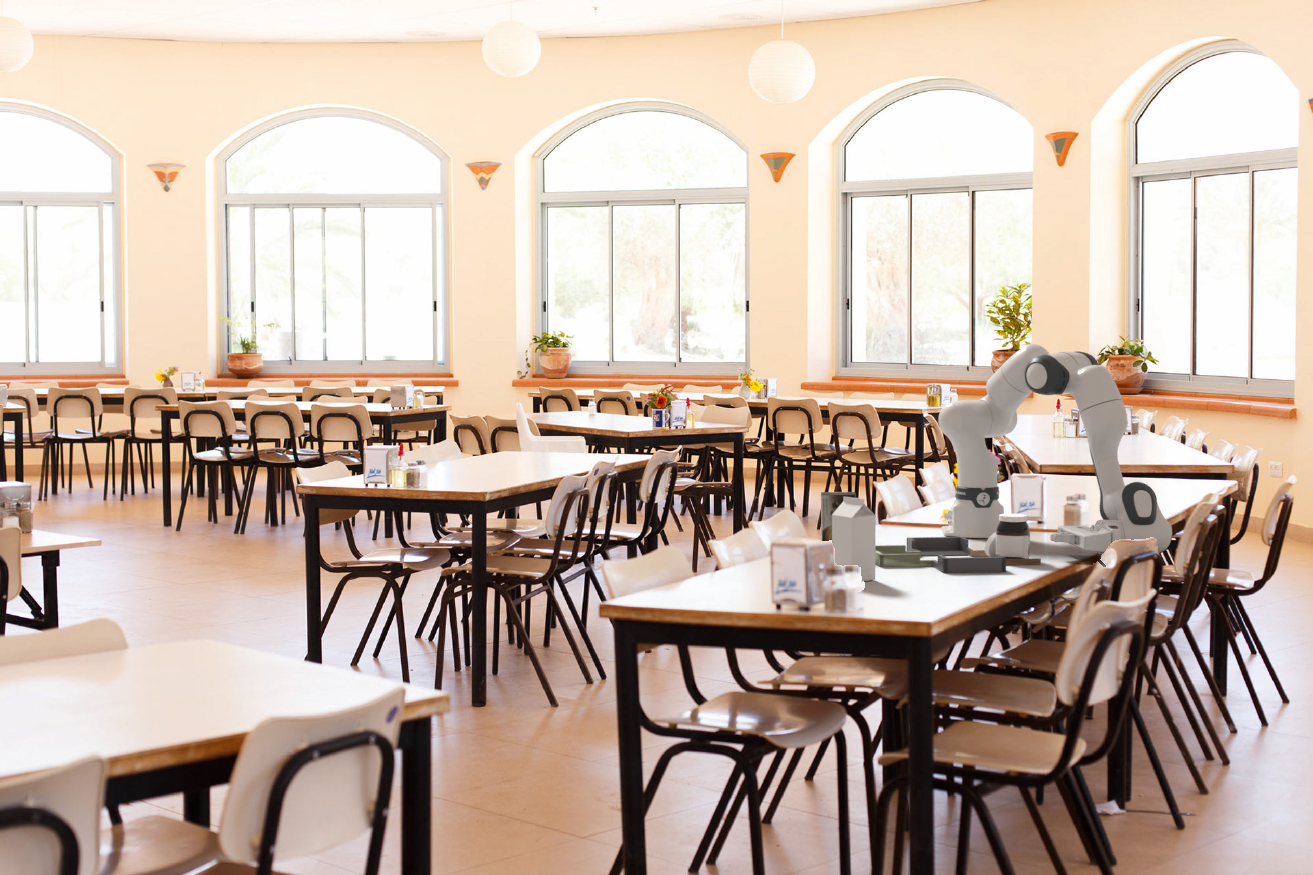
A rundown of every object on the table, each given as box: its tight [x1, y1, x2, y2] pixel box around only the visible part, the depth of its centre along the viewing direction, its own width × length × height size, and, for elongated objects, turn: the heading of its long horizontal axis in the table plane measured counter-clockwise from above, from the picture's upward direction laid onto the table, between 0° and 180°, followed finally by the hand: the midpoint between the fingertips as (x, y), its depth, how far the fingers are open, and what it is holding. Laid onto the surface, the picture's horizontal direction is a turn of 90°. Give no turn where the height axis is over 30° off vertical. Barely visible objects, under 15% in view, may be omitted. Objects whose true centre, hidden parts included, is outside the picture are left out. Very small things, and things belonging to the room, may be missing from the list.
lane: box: [875, 544, 1042, 568], centre depth 331 cm, size 16×40×3 cm, turn 93°
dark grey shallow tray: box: [931, 554, 1007, 574], centre depth 318 cm, size 10×15×4 cm
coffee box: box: [820, 491, 857, 541], centre depth 344 cm, size 9×6×16 cm
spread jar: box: [984, 513, 1031, 559], centre depth 332 cm, size 12×11×12 cm
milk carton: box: [832, 497, 876, 582], centre depth 303 cm, size 7×7×19 cm
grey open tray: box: [906, 536, 973, 557], centre depth 344 cm, size 10×15×4 cm
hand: (1052, 537), depth 332 cm, fingers closed
